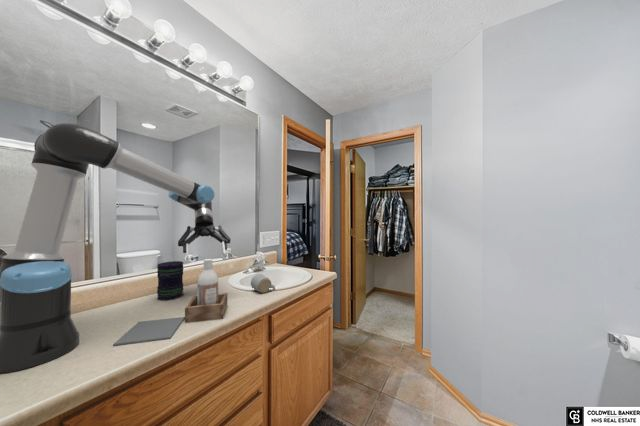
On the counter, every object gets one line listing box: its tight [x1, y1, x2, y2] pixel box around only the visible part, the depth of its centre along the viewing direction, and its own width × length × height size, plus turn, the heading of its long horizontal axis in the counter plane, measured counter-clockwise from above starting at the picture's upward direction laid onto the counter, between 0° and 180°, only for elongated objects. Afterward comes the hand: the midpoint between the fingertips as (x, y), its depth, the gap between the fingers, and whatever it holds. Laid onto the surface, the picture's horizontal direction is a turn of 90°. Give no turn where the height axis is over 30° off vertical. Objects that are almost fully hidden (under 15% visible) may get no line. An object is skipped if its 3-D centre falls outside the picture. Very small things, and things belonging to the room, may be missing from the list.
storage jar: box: [156, 260, 184, 302], centre depth 102 cm, size 10×10×15 cm
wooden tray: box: [184, 292, 228, 324], centre depth 84 cm, size 12×12×5 cm
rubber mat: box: [112, 316, 185, 347], centre depth 72 cm, size 14×14×1 cm
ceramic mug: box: [250, 273, 276, 294], centre depth 110 cm, size 11×8×8 cm
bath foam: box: [196, 258, 219, 306], centre depth 84 cm, size 7×7×20 cm
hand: (206, 257), depth 93 cm, fingers open, 13 cm apart
